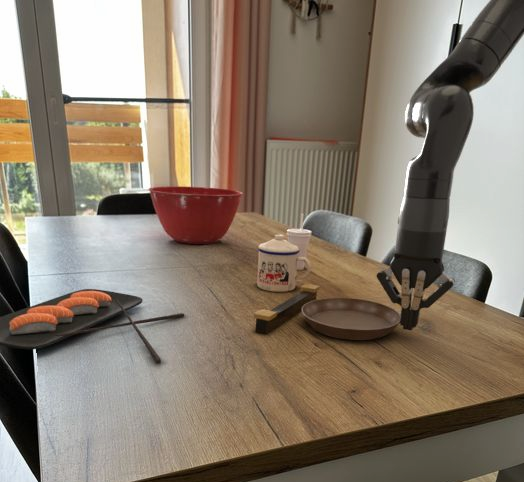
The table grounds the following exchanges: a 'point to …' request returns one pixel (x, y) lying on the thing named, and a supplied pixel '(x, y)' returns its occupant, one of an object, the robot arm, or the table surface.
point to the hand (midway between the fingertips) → (408, 328)
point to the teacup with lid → (279, 265)
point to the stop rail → (284, 309)
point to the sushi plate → (70, 319)
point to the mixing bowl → (195, 212)
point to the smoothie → (300, 241)
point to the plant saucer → (351, 318)
